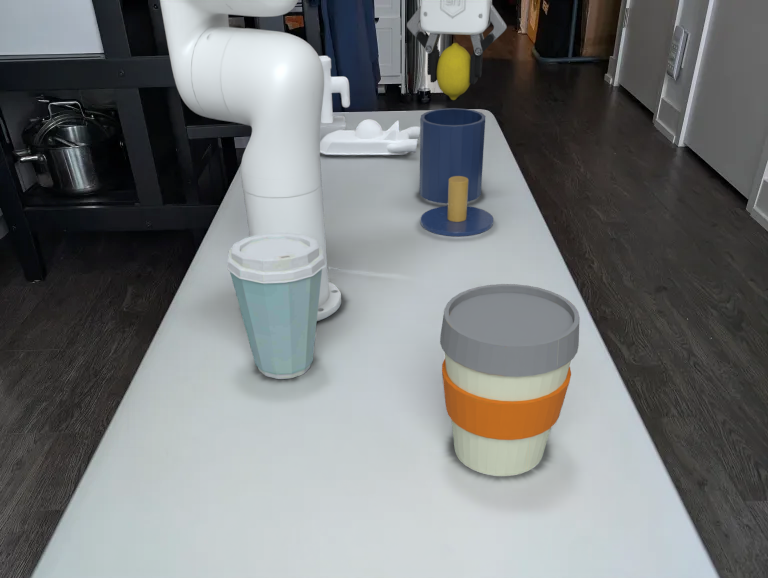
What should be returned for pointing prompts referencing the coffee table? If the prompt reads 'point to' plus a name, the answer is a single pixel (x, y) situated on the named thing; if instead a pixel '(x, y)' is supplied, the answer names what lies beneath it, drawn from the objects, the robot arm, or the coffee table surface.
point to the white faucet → (331, 86)
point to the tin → (451, 151)
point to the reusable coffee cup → (506, 373)
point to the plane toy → (371, 140)
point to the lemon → (454, 71)
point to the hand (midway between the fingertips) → (454, 80)
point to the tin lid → (457, 213)
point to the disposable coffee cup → (278, 298)
